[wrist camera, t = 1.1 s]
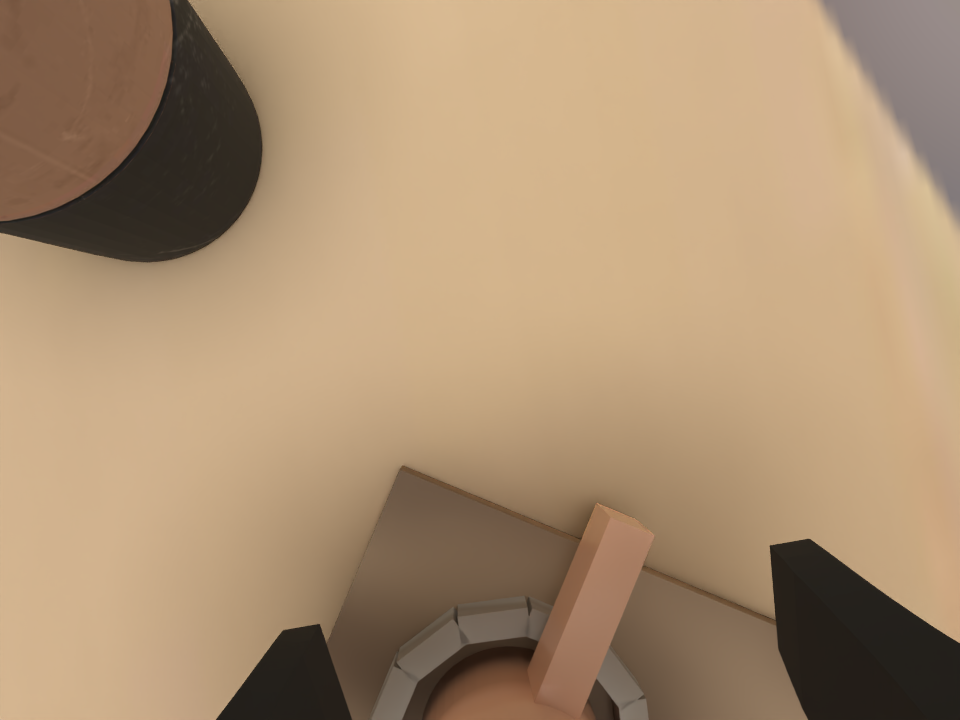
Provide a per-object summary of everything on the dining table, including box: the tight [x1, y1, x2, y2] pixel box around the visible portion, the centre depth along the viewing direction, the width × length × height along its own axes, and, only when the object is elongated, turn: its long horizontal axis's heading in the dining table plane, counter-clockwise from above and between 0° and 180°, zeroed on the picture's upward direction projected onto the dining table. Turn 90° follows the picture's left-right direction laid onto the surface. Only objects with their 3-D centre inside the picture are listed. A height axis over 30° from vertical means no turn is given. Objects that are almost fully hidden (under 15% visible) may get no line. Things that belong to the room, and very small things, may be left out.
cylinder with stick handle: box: [422, 503, 655, 720], centre depth 21 cm, size 10×5×6 cm, turn 157°
